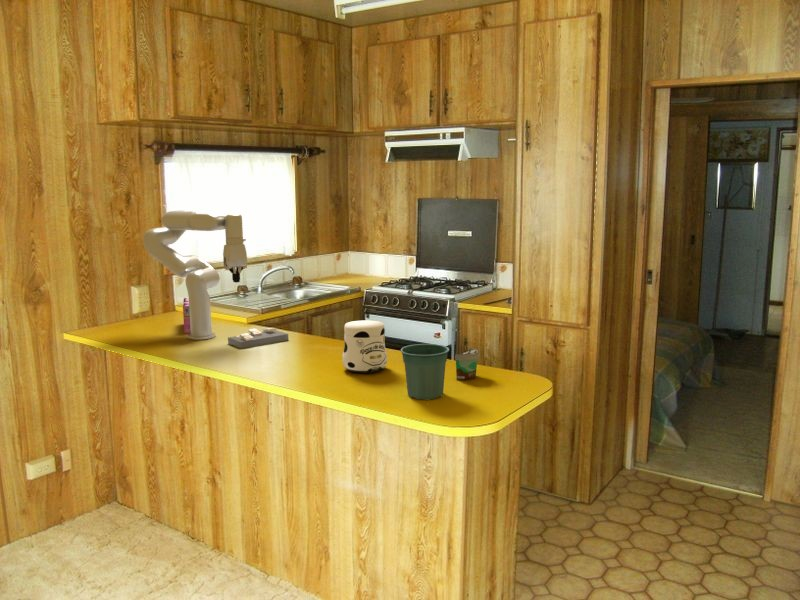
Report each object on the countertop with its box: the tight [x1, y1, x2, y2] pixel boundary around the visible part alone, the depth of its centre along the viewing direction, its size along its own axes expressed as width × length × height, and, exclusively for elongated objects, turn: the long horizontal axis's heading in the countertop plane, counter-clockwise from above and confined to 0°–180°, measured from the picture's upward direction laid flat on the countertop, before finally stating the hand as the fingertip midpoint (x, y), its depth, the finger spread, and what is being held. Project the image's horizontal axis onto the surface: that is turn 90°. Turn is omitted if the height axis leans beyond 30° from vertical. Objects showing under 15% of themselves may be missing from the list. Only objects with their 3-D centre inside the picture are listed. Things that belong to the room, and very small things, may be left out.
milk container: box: [341, 320, 388, 374], centre depth 274 cm, size 17×17×18 cm
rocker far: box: [262, 327, 277, 332], centre depth 329 cm, size 6×4×2 cm, turn 40°
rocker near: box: [239, 332, 254, 341], centre depth 315 cm, size 6×4×2 cm, turn 40°
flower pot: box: [400, 343, 450, 401], centre depth 242 cm, size 16×16×16 cm
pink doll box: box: [182, 297, 191, 334], centre depth 353 cm, size 24×8×14 cm, turn 15°
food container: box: [454, 347, 480, 382], centre depth 262 cm, size 12×6×10 cm, turn 148°
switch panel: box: [227, 329, 289, 350], centre depth 322 cm, size 12×24×3 cm, turn 130°
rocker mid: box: [247, 327, 262, 336], centre depth 324 cm, size 6×4×2 cm, turn 40°
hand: (236, 281), depth 321 cm, fingers closed
